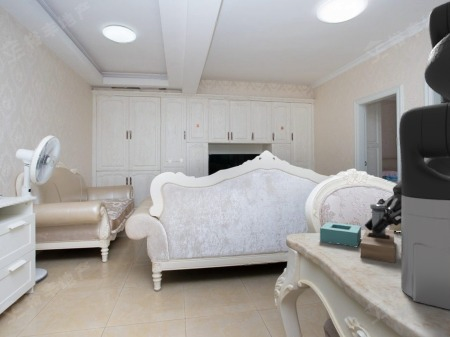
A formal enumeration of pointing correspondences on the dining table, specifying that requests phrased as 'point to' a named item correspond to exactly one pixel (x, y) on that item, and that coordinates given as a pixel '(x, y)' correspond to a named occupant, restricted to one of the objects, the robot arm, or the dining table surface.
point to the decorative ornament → (395, 227)
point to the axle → (378, 218)
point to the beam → (378, 246)
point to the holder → (340, 233)
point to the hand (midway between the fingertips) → (371, 229)
